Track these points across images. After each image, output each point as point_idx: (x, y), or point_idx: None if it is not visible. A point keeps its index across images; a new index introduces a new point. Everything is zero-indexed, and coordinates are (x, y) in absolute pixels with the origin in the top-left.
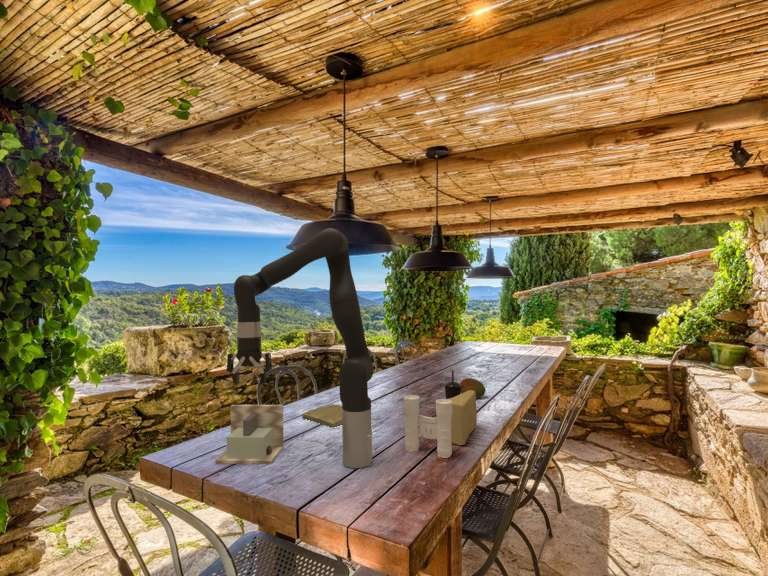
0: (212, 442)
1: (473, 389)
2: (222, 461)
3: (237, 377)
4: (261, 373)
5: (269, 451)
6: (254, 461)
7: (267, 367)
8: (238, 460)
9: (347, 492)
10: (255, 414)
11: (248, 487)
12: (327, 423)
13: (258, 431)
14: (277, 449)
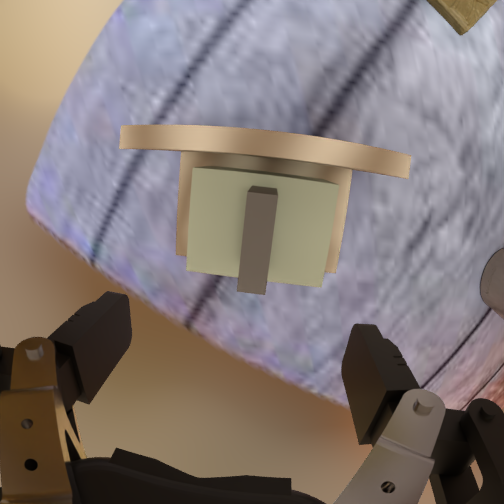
0: (114, 98)
1: None
2: None
3: (101, 360)
4: (374, 437)
5: None
6: None
7: (449, 487)
8: None
9: (455, 381)
10: (271, 204)
11: (298, 371)
12: (446, 13)
13: (290, 222)
14: (341, 191)
